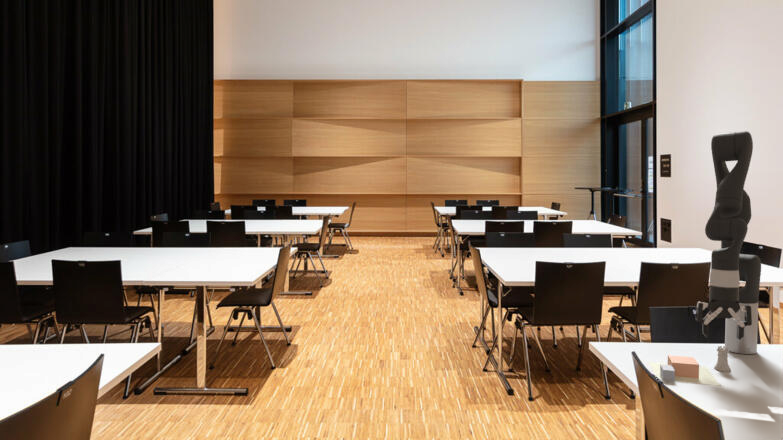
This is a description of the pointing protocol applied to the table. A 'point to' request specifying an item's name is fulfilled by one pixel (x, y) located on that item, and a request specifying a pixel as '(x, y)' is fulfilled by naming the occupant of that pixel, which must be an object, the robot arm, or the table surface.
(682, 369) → the terracotta brick
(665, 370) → the slate brick
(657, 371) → the plate
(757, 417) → the table surface
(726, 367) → the rook chess piece
